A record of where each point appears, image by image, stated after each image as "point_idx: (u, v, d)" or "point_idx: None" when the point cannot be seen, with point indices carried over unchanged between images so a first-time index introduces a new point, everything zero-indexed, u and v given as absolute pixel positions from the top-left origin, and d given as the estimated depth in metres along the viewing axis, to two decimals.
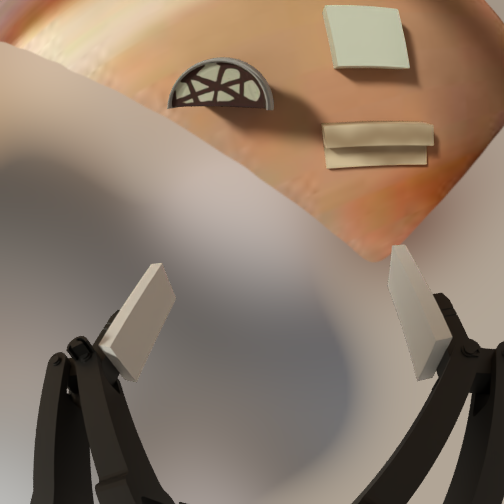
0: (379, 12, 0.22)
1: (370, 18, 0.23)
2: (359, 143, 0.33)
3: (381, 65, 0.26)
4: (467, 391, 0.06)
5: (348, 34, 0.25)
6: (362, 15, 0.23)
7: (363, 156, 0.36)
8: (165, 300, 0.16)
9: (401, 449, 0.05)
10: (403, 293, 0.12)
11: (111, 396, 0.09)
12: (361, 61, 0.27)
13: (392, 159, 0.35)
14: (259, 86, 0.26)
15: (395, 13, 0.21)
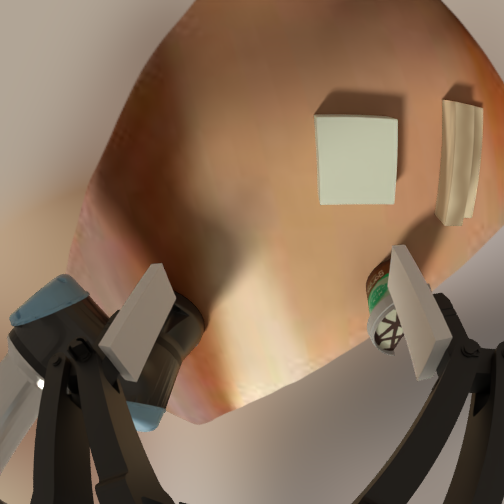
0: (326, 143, 0.27)
1: (336, 156, 0.28)
2: (465, 194, 0.27)
3: (396, 155, 0.26)
4: (467, 391, 0.06)
5: (359, 186, 0.29)
6: (332, 164, 0.28)
7: (470, 181, 0.28)
8: (165, 300, 0.16)
9: (401, 449, 0.05)
10: (403, 293, 0.12)
11: (111, 396, 0.09)
12: (391, 178, 0.28)
13: (477, 149, 0.25)
14: None
15: (324, 121, 0.26)
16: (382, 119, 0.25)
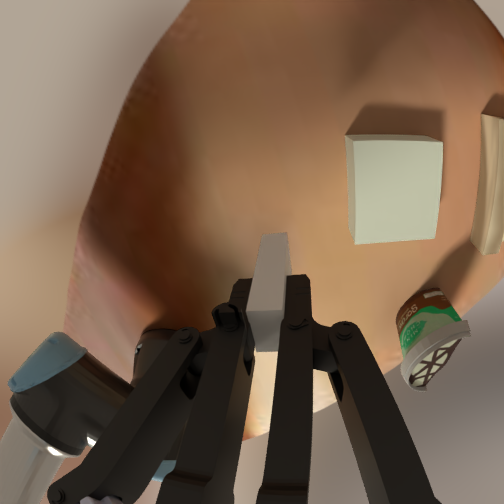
0: (364, 172, 0.22)
1: (375, 188, 0.23)
2: None
3: (439, 183, 0.21)
4: (310, 357, 0.09)
5: (399, 222, 0.24)
6: (371, 198, 0.23)
7: None
8: None
9: (270, 431, 0.07)
10: None
11: (239, 382, 0.09)
12: (433, 210, 0.23)
13: None
14: None
15: (362, 146, 0.21)
16: (427, 142, 0.20)
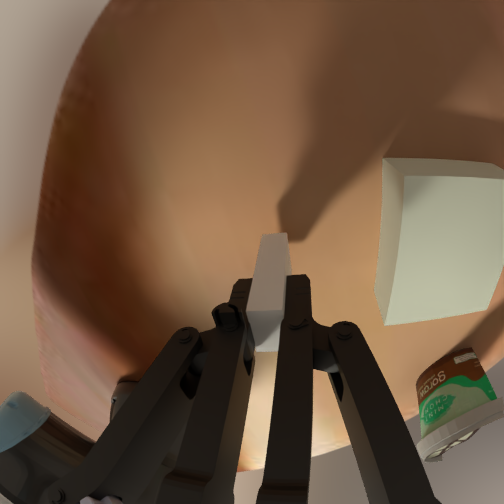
0: (415, 228, 0.13)
1: (427, 252, 0.13)
2: None
3: None
4: (310, 357, 0.09)
5: (449, 295, 0.15)
6: (418, 265, 0.14)
7: None
8: None
9: (270, 431, 0.07)
10: None
11: (239, 382, 0.09)
12: (494, 276, 0.13)
13: None
14: None
15: (418, 185, 0.12)
16: None
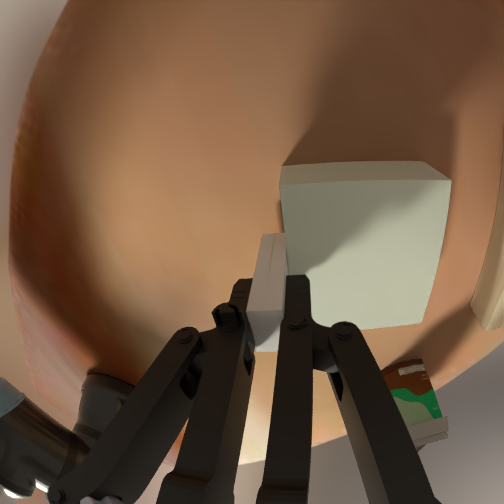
0: (302, 238, 0.14)
1: (323, 262, 0.15)
2: None
3: (438, 248, 0.13)
4: (310, 357, 0.09)
5: (364, 306, 0.16)
6: (315, 276, 0.15)
7: None
8: None
9: (270, 431, 0.07)
10: None
11: (239, 382, 0.09)
12: (423, 287, 0.15)
13: None
14: None
15: (296, 194, 0.13)
16: (422, 182, 0.11)
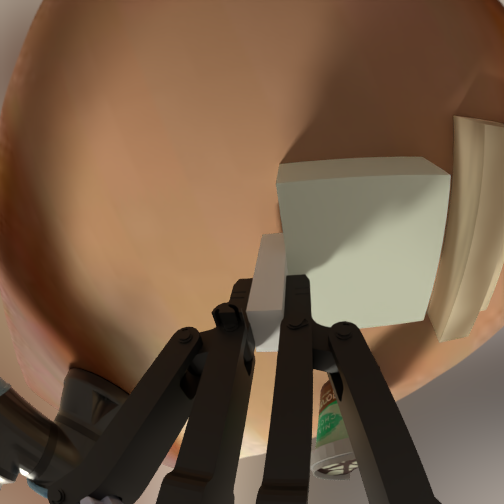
0: (301, 236, 0.14)
1: (323, 260, 0.15)
2: (482, 294, 0.14)
3: (439, 244, 0.13)
4: (310, 357, 0.09)
5: (365, 304, 0.16)
6: (315, 274, 0.15)
7: None
8: None
9: (270, 431, 0.07)
10: None
11: (239, 382, 0.09)
12: (425, 284, 0.14)
13: None
14: None
15: (294, 192, 0.13)
16: (421, 177, 0.11)
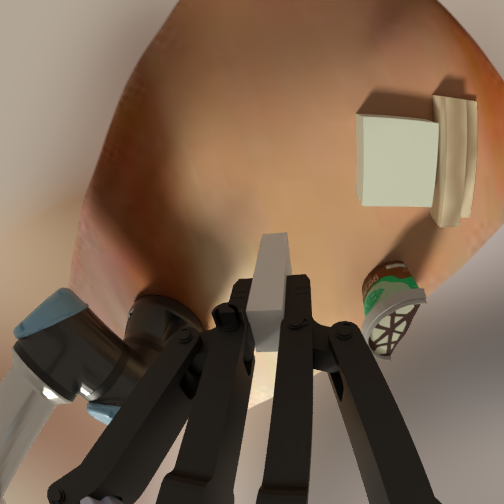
0: (371, 143, 0.25)
1: (380, 158, 0.26)
2: (461, 193, 0.26)
3: (435, 158, 0.25)
4: (310, 357, 0.09)
5: (400, 189, 0.27)
6: (376, 165, 0.27)
7: (466, 179, 0.27)
8: None
9: (270, 431, 0.07)
10: None
11: (239, 382, 0.09)
12: (430, 181, 0.26)
13: (472, 145, 0.24)
14: None
15: (370, 121, 0.24)
16: (425, 122, 0.23)
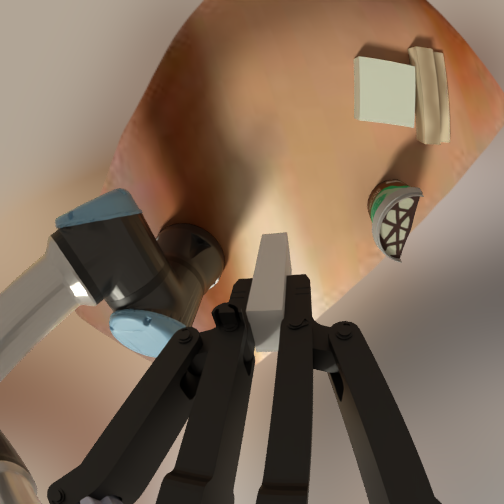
0: (365, 75, 0.31)
1: (372, 85, 0.32)
2: (437, 117, 0.32)
3: (414, 91, 0.31)
4: (310, 357, 0.09)
5: (388, 110, 0.33)
6: (369, 91, 0.32)
7: (442, 110, 0.33)
8: None
9: (270, 431, 0.07)
10: None
11: (239, 382, 0.09)
12: (411, 107, 0.32)
13: (443, 85, 0.31)
14: (404, 197, 0.35)
15: (364, 60, 0.30)
16: (404, 64, 0.29)
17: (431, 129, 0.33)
